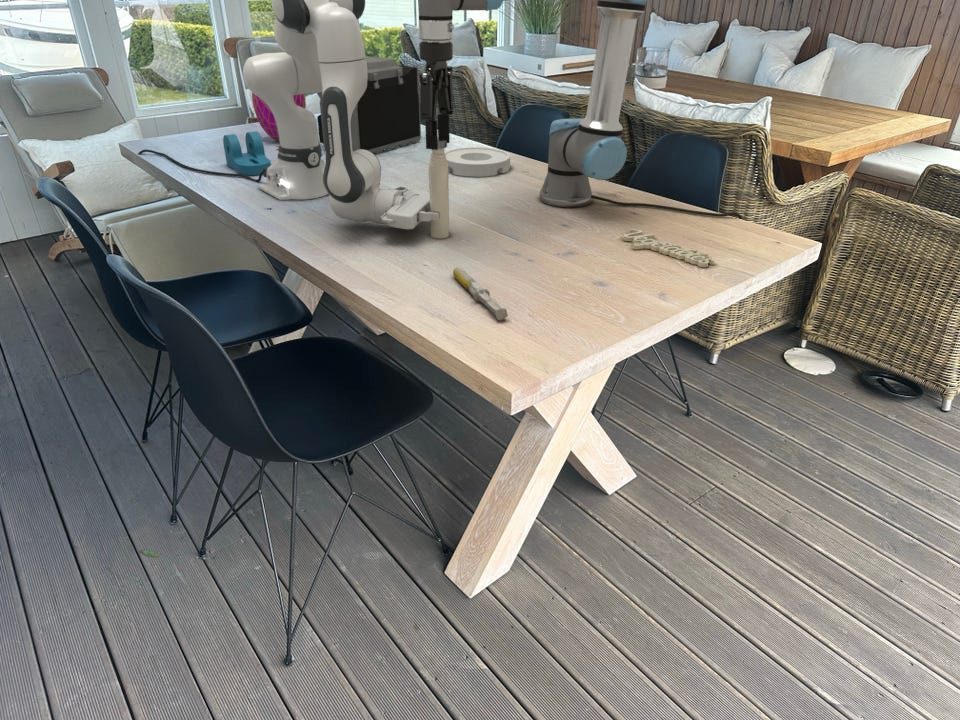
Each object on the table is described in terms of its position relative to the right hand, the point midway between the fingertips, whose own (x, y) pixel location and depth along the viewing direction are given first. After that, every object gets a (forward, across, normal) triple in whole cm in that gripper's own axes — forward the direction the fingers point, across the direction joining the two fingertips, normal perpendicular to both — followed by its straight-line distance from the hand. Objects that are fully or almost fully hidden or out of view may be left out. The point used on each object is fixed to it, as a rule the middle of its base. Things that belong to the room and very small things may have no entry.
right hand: (438, 145), depth 165 cm
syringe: (+23, -31, -23) cm, 45 cm away
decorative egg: (+23, +73, +97) cm, 123 cm away
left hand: (+17, 0, -1) cm, 17 cm away
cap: (-1, 0, 0) cm, 1 cm away
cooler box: (+23, +78, +62) cm, 102 cm away
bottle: (+23, 0, 0) cm, 23 cm away
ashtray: (+23, +64, +15) cm, 70 cm away
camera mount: (+23, +34, +84) cm, 93 cm away
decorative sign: (+23, +11, -55) cm, 61 cm away
